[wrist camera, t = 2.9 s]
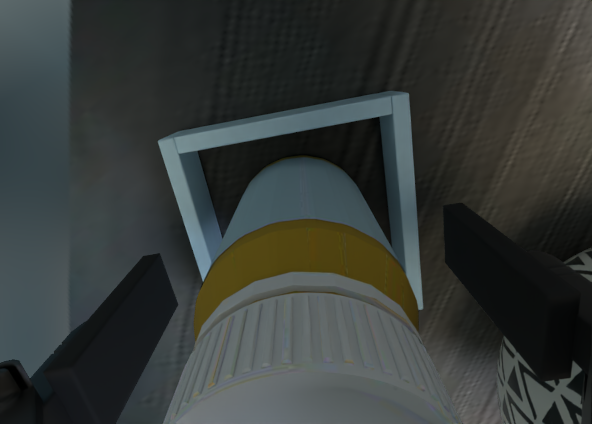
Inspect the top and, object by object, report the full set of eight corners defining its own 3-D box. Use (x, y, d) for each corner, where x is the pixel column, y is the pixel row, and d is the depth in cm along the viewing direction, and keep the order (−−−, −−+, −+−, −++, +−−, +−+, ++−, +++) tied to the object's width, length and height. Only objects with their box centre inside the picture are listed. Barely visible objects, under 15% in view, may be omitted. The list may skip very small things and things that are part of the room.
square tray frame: (177, 131, 19) (156, 140, 16) (392, 90, 18) (409, 92, 15) (230, 307, 23) (221, 339, 20) (407, 280, 22) (423, 309, 19)
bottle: (364, 257, 22) (489, 585, 8) (253, 270, 22) (176, 607, 8) (357, 145, 19) (521, 326, 5) (231, 161, 20) (67, 371, 6)
